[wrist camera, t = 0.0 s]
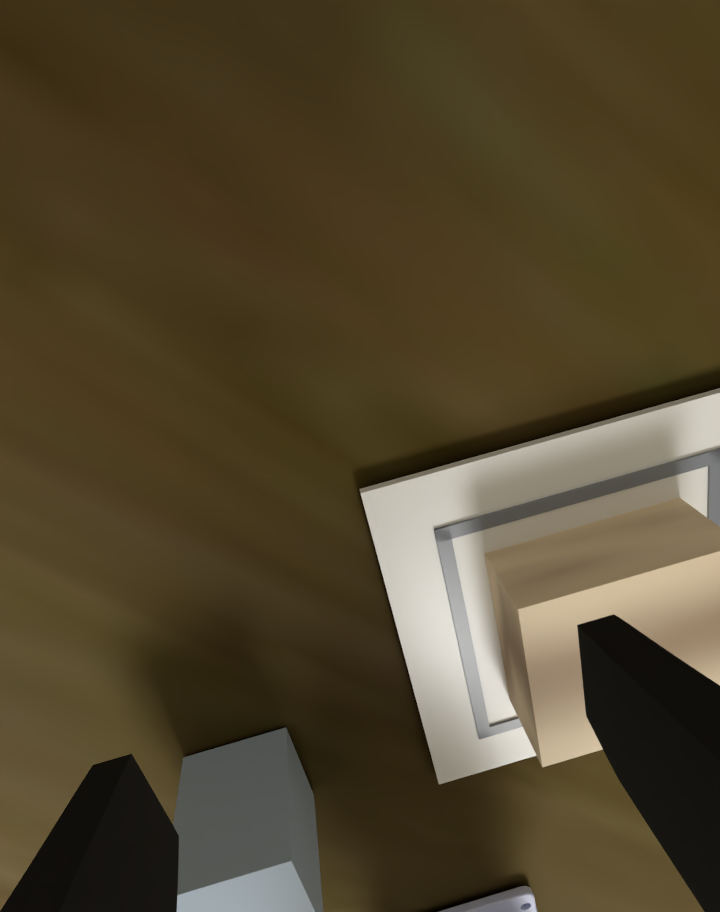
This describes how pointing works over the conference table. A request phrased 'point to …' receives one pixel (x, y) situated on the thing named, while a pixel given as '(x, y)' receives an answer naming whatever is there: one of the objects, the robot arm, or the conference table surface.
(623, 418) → the white square board
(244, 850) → the grey rectangular block
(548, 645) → the maple slab
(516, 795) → the conference table surface
